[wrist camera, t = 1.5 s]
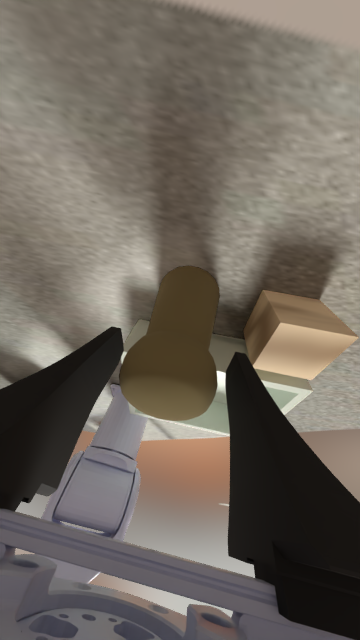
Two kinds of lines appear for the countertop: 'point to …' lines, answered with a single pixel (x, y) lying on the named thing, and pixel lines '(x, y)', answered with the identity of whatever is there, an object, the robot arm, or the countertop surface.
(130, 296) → the countertop surface
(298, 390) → the tote
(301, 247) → the countertop surface
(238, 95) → the countertop surface
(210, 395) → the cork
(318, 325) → the maple cube
